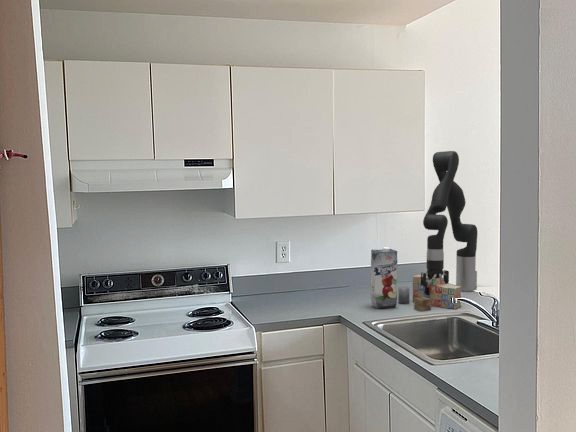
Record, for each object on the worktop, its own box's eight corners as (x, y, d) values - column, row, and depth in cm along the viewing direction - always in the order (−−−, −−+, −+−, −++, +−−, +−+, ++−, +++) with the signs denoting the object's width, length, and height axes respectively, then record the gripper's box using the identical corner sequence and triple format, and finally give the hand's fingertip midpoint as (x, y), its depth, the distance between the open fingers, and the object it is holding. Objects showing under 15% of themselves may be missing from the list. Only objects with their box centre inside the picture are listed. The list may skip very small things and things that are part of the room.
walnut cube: (423, 308, 266) (423, 296, 266) (430, 310, 262) (430, 299, 261) (414, 309, 264) (414, 298, 264) (421, 311, 260) (421, 300, 259)
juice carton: (368, 305, 272) (369, 246, 269) (389, 303, 275) (390, 245, 272) (377, 309, 263) (377, 248, 261) (399, 307, 266) (399, 247, 264)
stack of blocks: (461, 307, 267) (461, 279, 266) (453, 309, 262) (454, 281, 261) (419, 299, 282) (419, 273, 281) (412, 302, 277) (412, 275, 276)
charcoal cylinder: (405, 301, 279) (405, 286, 278) (411, 303, 274) (411, 288, 274) (396, 302, 277) (396, 287, 276) (402, 304, 272) (402, 289, 272)
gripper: (442, 256, 277) (442, 291, 279) (416, 258, 271) (416, 294, 273) (453, 258, 270) (452, 294, 272) (427, 260, 265) (426, 297, 266)
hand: (434, 294), depth 272 cm, fingers closed on stack of blocks, 7 cm apart
